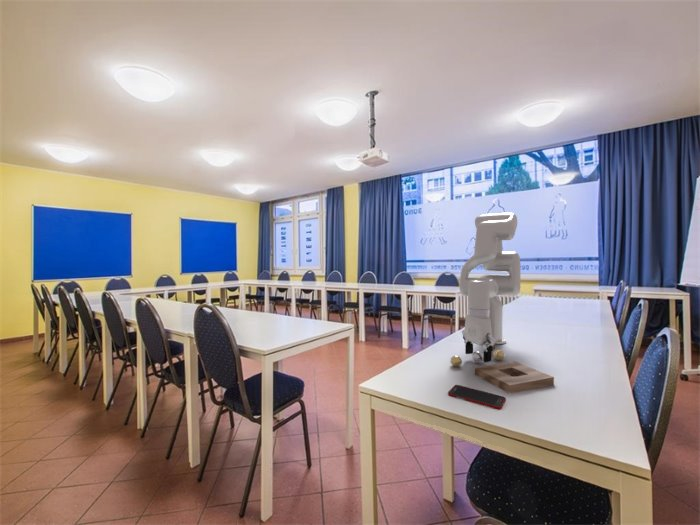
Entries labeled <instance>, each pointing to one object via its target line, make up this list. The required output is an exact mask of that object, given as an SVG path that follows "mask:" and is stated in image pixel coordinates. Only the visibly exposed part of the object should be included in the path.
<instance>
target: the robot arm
mask: <svg viewBox="0 0 700 525" xmlns="http://www.w3.org/2000/svg"><path fill="white" fill-rule="evenodd" d="M474 225H475V228H476V230H475V231H476V232H475V233H476V234H475V241H474V252H473V255H472V256H471V257H469V258H468V260H467V261H465V263H463V265H462V268H461V270H460V276H459V285H458V286H459V292H460V294H461V295H463V296H465V297H467V314H466V316H465V321H464V329H462V330H461V334H462V338H463V340H464V342H463V343H464V344H465V345H464V346H465V349H464V351H465V354H466V355H472V354H473V353H474V344H475V345H478V346H482V348H483V350H484V351H483V352H482V353H483V363H491V362H492V359H493V358H492V353H493V352H494V351H495V350H496V347H497V345H503V344H506V343H507V339H506V338H505V337H503V309H504V308H503V307H504V306H503V302H502V301H501V299H500V298H499V297H498V296H511V297H514V296H518V295H519V294H520V292H521V257H520V255H519V253H518V252H517V251H510V250H509V251H505V250H503V241H511V240H512V239H514V237H515V235H516V231H517V227H518V217H517V215H516V214H515V213H514V212H501V213H500V212H499V213H485V214H480V215H478V216H476V217H475V220H474ZM481 265H482V268H483V270H484V271H487V272H493V273H494V272H496V273H497V272H499V273H500V272H501V273H508V274H491V273H490V274H484V275H482V276H480V277H469V275H470V273H471V271H472V270H474V269H475V268H477V267H479V266H481Z"/></svg>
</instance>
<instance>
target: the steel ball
mask: <svg viewBox="0 0 700 525" xmlns="http://www.w3.org/2000/svg"><path fill="white" fill-rule="evenodd" d="M483 353H484V352H482V351H479V350H476V351H473V353H472V354H471V359H472V361H473V362H474V363H475V364H482V363H484V361H483Z"/></svg>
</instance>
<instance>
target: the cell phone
mask: <svg viewBox="0 0 700 525" xmlns="http://www.w3.org/2000/svg"><path fill="white" fill-rule="evenodd" d="M447 395H448V396H449V397H453V398H456V399H461V400H464V401H467V402H470V403H474V404H478V405H481V406H485V407H488V408H492V409H496V410H502V409H503V406H504V404H505V403H506V400H507V399H506V398H507V397H506V396H504V395H500V394H495V393H493V392H492V393H491V392H487V391H484V390H481V389H476V388H471V387H469V386H464V385H461V384H460V385H459V384H455V385H453V387H452V388H451V389H450V390H448V392H447Z"/></svg>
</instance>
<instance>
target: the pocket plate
mask: <svg viewBox="0 0 700 525" xmlns="http://www.w3.org/2000/svg"><path fill="white" fill-rule="evenodd" d="M474 376H476V377H478V378H480V379H482V380H484V381H486V382H488V383H489V384H491V385H493V386H495V387H497V388H498V389H501V390H502V391H504V392H506V393H509V394H513V393H514V394H515V393H519V392H525V391H528V390H529V391H531V390H534V389H539V388H540V389H541V388H544V387H551V386H554V385H555V377H554V376H552V375H550V374H548V373H545V372H542V371H540V370H537V369H535V368H532V367H530V366H527V365H525V364H522V363H520V362H518V361H510V362H509V361H508V362H502V363H496V364H490V365H483V366H476V367H474Z"/></svg>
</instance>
